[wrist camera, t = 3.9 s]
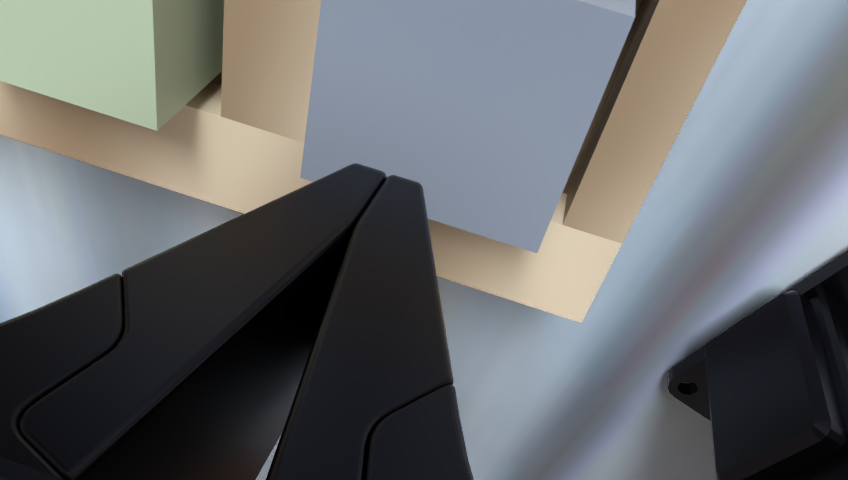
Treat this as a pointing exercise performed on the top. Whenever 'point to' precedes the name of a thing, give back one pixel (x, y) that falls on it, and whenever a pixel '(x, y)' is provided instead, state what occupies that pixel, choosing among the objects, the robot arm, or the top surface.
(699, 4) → the wooden slotted block
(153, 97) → the key sage
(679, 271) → the top surface
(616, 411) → the top surface
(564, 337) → the top surface
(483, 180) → the key slate
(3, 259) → the top surface
